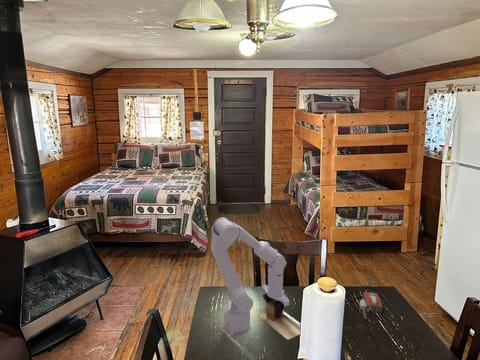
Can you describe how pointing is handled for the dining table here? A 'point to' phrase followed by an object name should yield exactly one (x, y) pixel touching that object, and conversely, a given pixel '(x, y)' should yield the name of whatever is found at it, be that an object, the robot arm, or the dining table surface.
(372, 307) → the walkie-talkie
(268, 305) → the brown knobbed block
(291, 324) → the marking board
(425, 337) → the dining table surface
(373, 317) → the dining table surface
